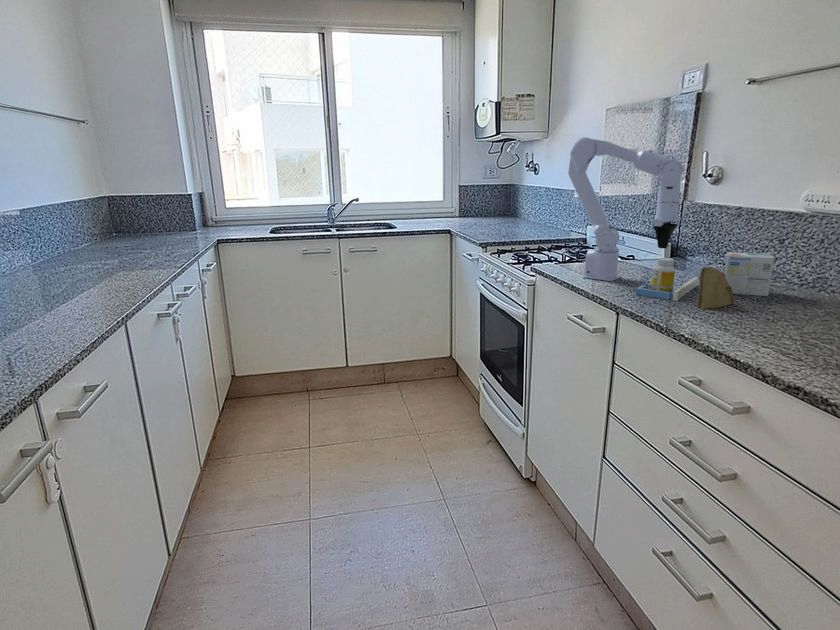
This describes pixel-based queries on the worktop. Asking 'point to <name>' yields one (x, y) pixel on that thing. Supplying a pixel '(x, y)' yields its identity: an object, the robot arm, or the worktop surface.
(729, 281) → the light bulb box
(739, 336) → the worktop surface
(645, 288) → the channel
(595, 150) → the robot arm
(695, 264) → the worktop surface
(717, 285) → the rock
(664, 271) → the supplement bottle
